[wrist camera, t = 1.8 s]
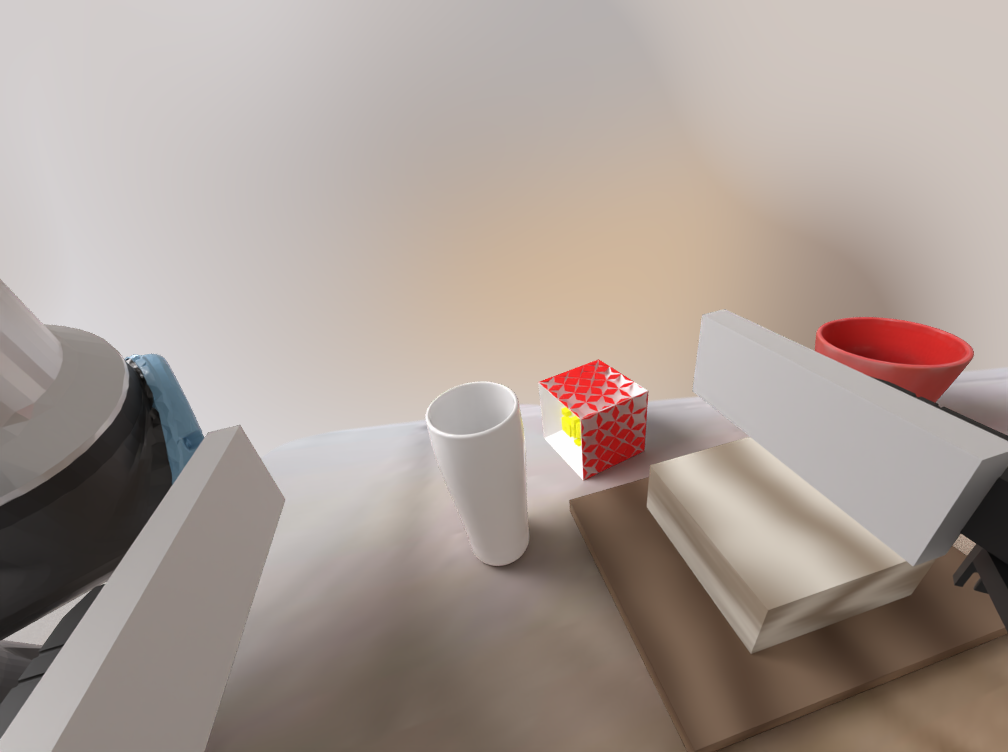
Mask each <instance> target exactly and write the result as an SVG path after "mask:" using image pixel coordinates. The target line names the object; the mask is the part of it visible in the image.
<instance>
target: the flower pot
mask: <svg viewBox="0 0 1008 752" xmlns="http://www.w3.org/2000/svg"><path fill="white" fill-rule="evenodd" d="M815 351H816V352H818V353H820V354H822V355H824V356H827V357H829V358H831V359H833V360H835V361H837V362H839V363H842V364H844V365H846V366H848V367H850V368H852V369H854V370H857V371H859V372H861V373H863V374H865V375H867V376H871V377H874V378H878V379H881V380H885V381H889V382H891V383H893V384H895V385H898V386H900V387H902V388H904V389H906V390H909V391H911V392H913V393H915V394H916V396H917V397H921V396H922V397H924V398H926V399H928V400H930V401H933V402H936V401H937V400H938V399H939V398H940V397H941V395H942V394H943V393H944V392H945V391H946V390H947V389H948V388H949V386H950V385H951V384H952V383H953V382H954V381H955V379H956V378H957V377H958V376H959V375H960V373H961V372H962V371H963V370H964V369H965V367H966V366H967V365H968V364H969V362H970V361H971V360H972V358H973V355H974V351H973V349H972V347H971V346H970V345H969V344H968V343H966V342H965V341H964V340H962V339H960V338H959V337H957V336H955V335H953V334H951V333H948V332H946V331H943V330H940V329H937V328H934V327H930V326H927V325H923V324H919V323H914V322H909V321H904V320H897V319H888V318H877V317H855V318H845V319H839V320H834V321H831V322H828V323H825V324H824V325H822V326H821V327H820V328H819V329H818V330H817V333H816V342H815Z"/></svg>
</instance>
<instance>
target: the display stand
mask: <svg viewBox="0 0 1008 752" xmlns="http://www.w3.org/2000/svg"><path fill="white" fill-rule="evenodd" d="M569 501H570V512H571V514H572V516H573V518H574V520H575V522H576V524H577V526H578V528H579V530H580V532H581V534H582V536H583V538H584V541H585V543H586V545H587V547H588V549H589V551H590V553H591V555H592V557H593V559H594V561H595V563H596V565H597V567H598V569H599V571H600V573H601V575H602V577H603V580H604V582H605V584H606V586H607V588H608V590H609V592H610V594H611V596H612V598H613V600H614V602H615V604H616V606H617V608H618V610H619V612H620V614H621V616H622V618H623V621H624V623H625V625H626V627H627V629H628V631H629V633H630V635H631V637H632V639H633V641H634V643H635V645H636V647H637V649H638V651H639V653H640V655H641V657H642V660H643V662H644V664H645V666H646V668H647V670H648V672H649V674H650V676H651V678H652V680H653V682H654V684H655V686H656V688H657V690H658V692H659V694H660V696H661V699H662V701H663V703H664V705H665V707H666V709H667V711H668V713H669V715H670V717H671V719H672V721H673V723H674V725H675V727H676V729H677V731H678V733H679V735H680V737H681V740H682V742H683V744H684V746H685V748H686V750H687V752H714V751H717V750H719V749H722V748H724V747H727V746H729V745H732V744H734V743H737V742H739V741H742V740H744V739H747V738H749V737H752V736H754V735H757V734H759V733H762V732H764V731H767V730H769V729H772V728H774V727H777V726H779V725H782V724H784V723H787V722H789V721H791V720H794V719H796V718H799V717H801V716H804V715H806V714H809V713H811V712H814V711H816V710H819V709H821V708H824V707H826V706H829V705H831V704H834V703H836V702H839V701H841V700H844V699H846V698H849V697H851V696H854V695H856V694H859V693H861V692H864V691H866V690H869V689H871V688H874V687H876V686H879V685H881V684H884V683H886V682H889V681H891V680H894V679H896V678H899V677H901V676H904V675H906V674H909V673H911V672H913V671H916V670H918V669H921V668H923V667H926V666H928V665H931V664H933V663H936V662H938V661H941V660H943V659H946V658H948V657H951V656H953V655H956V654H958V653H961V652H963V651H966V650H968V649H971V648H973V647H976V646H978V645H981V644H983V643H986V642H988V641H991V640H993V639H996V638H998V637H1001V636H1003V635H1006V634H1008V632H1007V630H1006V628H1005V626H1004V624H1003V622H1002V620H1001V618H1000V616H999V614H998V612H997V610H996V608H995V606H994V604H993V602H992V600H991V598H990V596H989V594H986V593H982V592H978V591H975V590H974V589H973V588H974V586H975V584H976V582H977V581H978V580H979V578H980V576H979V574H978V573H973V574H972V575H971V577H970V578H969V579H968V580H967V582H966V583H965V584H964V586H963V587H959V586H955V585H954V581H953V574H954V573H955V572H956V570H957V569H958V568H959V566H960V565H961V564H962V562H963V561H964V560H965V558H966V557H967V556H966V555H965V554H963V553H962V552H961V551H959V550H958V549H956V548H955V547H953V546H952V547H951V548H950V549H949V551H948V552H947V554H946V555H944V556H941V557H938V558H935V559H933V560H930V561H927V562H924V563H921V564H919V565H916V566H912V565H911V564H909V563H908V562H907V561H906V560H904V559H903V558H902V557H901V556H899V555H898V554H897V553H896V552H894V551H893V550H892V549H891V548H889V547H888V546H887V545H885V544H884V543H883V542H882V541H880V540H879V539H878V538H877V537H875V536H874V535H873V534H872V533H870V532H869V531H868V530H867V529H865V528H864V527H863V526H862V525H860V524H859V523H858V522H857V521H855V520H854V519H853V518H851V517H850V516H849V515H848V514H846V513H845V512H844V511H843V510H841V509H840V508H839V507H838V506H836V505H835V504H834V503H833V502H831V501H830V500H829V499H828V498H826V497H825V496H824V495H823V494H821V493H820V492H819V491H817V490H816V489H815V488H814V487H812V486H811V485H810V484H809V483H807V482H806V481H805V480H804V479H802V478H801V477H800V476H799V475H797V474H796V473H795V472H794V471H792V470H791V469H790V468H789V467H787V466H786V465H785V464H783V463H782V462H781V461H780V460H778V459H777V458H776V457H775V456H773V455H772V454H771V453H770V452H768V451H767V450H766V449H765V448H763V447H762V446H761V445H760V444H758V443H757V442H756V441H755V440H753V439H752V438H751V437H747V438H744V439H740V440H737V441H733V442H730V443H726V444H723V445H719V446H716V447H712V448H709V449H705V450H702V451H698V452H695V453H691V454H688V455H684V456H681V457H677V458H674V459H670V460H667V461H663V462H660V463H656V464H653V465H650V472H649V477H648V478H644V479H641V480H637V481H634V482H631V483H627V484H624V485H620V486H617V487H613V488H610V489H606V490H603V491H600V492H596V493H593V494H589V495H586V496H582V497H579V498H575V499H572V500H569Z"/></svg>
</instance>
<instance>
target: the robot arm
mask: <svg viewBox="0 0 1008 752" xmlns="http://www.w3.org/2000/svg"><path fill="white" fill-rule="evenodd" d="M693 392H694V393H695V394H697V395H698V396H699V397H700V398H702V399H703V400H704V401H705V402H707V403H708V404H709V405H710V406H712V407H713V408H714V409H715V410H717V411H718V412H719V413H721V414H722V415H723V416H724V417H726V418H727V419H728V420H729V421H731V422H732V423H733V424H734V425H736V426H737V427H738V428H739V429H741V430H742V431H743V432H744V433H746V434H747V435H748V436H749V437H751V438H752V439H753V440H755V441H756V442H757V443H758V444H760V445H761V446H762V447H763V448H765V449H766V450H767V451H768V452H770V453H771V454H772V455H773V456H775V457H776V458H777V459H778V460H780V461H781V462H782V463H783V464H785V465H786V466H787V467H789V468H790V469H791V470H792V471H794V472H795V473H796V474H797V475H799V476H800V477H801V478H802V479H804V480H805V481H806V482H807V483H809V484H810V485H811V486H812V487H814V488H815V489H816V490H817V491H819V492H820V493H821V494H823V495H824V496H825V497H826V498H828V499H829V500H830V501H831V502H833V503H834V504H835V505H836V506H838V507H839V508H840V509H841V510H843V511H844V512H845V513H846V514H848V515H849V516H850V517H851V518H853V519H854V520H855V521H857V522H858V523H859V524H860V525H862V526H863V527H864V528H865V529H867V530H868V531H869V532H870V533H872V534H873V535H874V536H875V537H877V538H878V539H879V540H880V541H882V542H883V543H884V544H885V545H887V546H888V547H889V548H891V549H892V550H893V551H894V552H896V553H897V554H898V555H899V556H901V557H902V558H903V559H904V560H906V561H907V562H908V563H909V564H911V565H912V566H916V565H919V564H921V563H924V562H927V561H930V560H933V559H935V558H938V557H941V556H944V555H946V554H947V552H948V551H949V549H950V548H951V547H952V545H953V544H954V542H955V541H956V539H957V538H958V537H959V535H960V534H963V535H964V536H966V537H967V538H969V539H970V540H972V541H973V542H975V543H976V545H975V546H974V548H973V549H972V550H971V552H970V553H969V554H968V556H967V557H966V558H965V560H964V561H963V562H962V564H961V565H960V566H959V568H958V569H957V570H956V572H955V573H954V574H953V581H954V585H955V586H959V587H963V586H964V584H965V583H966V582H967V580H968V579H969V578H970V577H971V575H972V574H973V573H978V574H979V576H980V578H979V580H978V581H977V582H976V584H975V586H974V588H973V589H974V590H975V591H978V592H982V593H986V594H989V596H990V598H991V600H992V602H993V604H994V606H995V608H996V610H997V612H998V614H999V616H1000V618H1001V620H1002V622H1003V624H1004V626H1005V628H1006V630H1007V632H1008V436H1007V435H1005V434H1002V433H1000V432H998V431H996V430H994V429H991V428H989V427H987V426H985V425H983V424H981V423H978V422H976V421H974V420H972V419H970V418H967V417H965V416H963V415H961V414H959V413H957V412H954V411H952V410H950V409H948V408H946V407H942V408H940V407H939V406H938V404H937V403H935V402H933V401H930V400H928V399H926V398H924V397H922V396H921V397H917V396H916V394H915V393H913V392H911V391H909V390H906V389H904V388H902V387H900V386H898V385H895V384H893V383H891V382H889V381H885V380H881V379H878V378H874V377H871V376H867V375H865V374H863V373H861V372H859V371H857V370H854V369H852V368H850V367H848V366H846V365H844V364H842V363H839V362H837V361H835V360H833V359H831V358H829V357H827V356H824V355H822V354H820V353H818V352H816V351H814V350H812V349H809V348H807V347H805V346H803V345H801V344H799V343H797V342H794V341H792V340H790V339H788V338H786V337H784V336H781V335H779V334H777V333H775V332H773V331H771V330H769V329H766V328H764V327H762V326H760V325H758V324H756V323H754V322H751V321H749V320H747V319H745V318H743V317H741V316H738V315H736V314H734V313H732V312H730V311H728V310H726V309H724V310H720V311H716V312H711V313H707V314H703V315H702V321H701V329H700V337H699V344H698V352H697V360H696V368H695V375H694V383H693ZM284 502H285V498H284V496H283V495H282V493H281V491H280V490H279V488H278V487H277V485H276V483H275V482H274V480H273V478H272V477H271V475H270V473H269V472H268V470H267V468H266V467H265V465H264V463H263V462H262V460H261V458H260V457H259V455H258V454H257V452H256V450H255V449H254V447H253V445H252V444H251V442H250V440H249V439H248V437H247V435H246V434H245V432H244V431H243V429H242V427H241V425H237V426H233V427H229V428H225V429H221V430H217V431H212V432H208V433H207V435H206V436H205V437H204V436H203V434H202V430H201V428H200V426H199V424H198V422H197V420H196V417H195V415H194V413H193V411H192V409H191V407H190V405H189V403H188V401H187V399H186V397H185V395H184V393H183V391H182V389H181V387H180V385H179V383H178V381H177V379H176V377H175V375H174V373H173V371H172V370H171V368H170V366H169V364H168V363H167V361H166V360H165V359H164V358H163V357H162V356H160V355H157V354H147V355H141V356H140V355H132V356H130V357H126V358H125V359H124V358H123V357H122V356H121V354H120V353H119V352H118V351H117V350H116V349H115V348H114V347H113V346H111V345H110V344H109V343H108V342H107V341H105V340H104V339H103V338H101V337H99V336H96V335H95V334H92V333H90V332H86V331H83V330H80V329H75V328H70V327H65V326H56V325H45V324H43V323H42V322H40V320H39V319H38V318H37V317H36V316H35V315H34V314H33V313H32V312H31V311H30V310H29V309H28V308H27V307H26V306H25V305H24V303H23V302H22V301H21V300H20V299H19V298H18V297H17V296H16V295H15V294H14V293H13V292H12V291H11V290H10V289H9V288H8V287H7V286H6V285H5V284H4V283H3V282H2V280H1V279H0V752H205V749H206V746H207V742H208V739H209V736H210V733H211V730H212V727H213V724H214V721H215V718H216V714H217V711H218V708H219V705H220V702H221V699H222V696H223V693H224V689H225V686H226V683H227V680H228V677H229V674H230V671H231V668H232V665H233V661H234V658H235V655H236V652H237V649H238V646H239V643H240V640H241V636H242V633H243V630H244V627H245V624H246V621H247V618H248V615H249V611H250V608H251V605H252V602H253V599H254V596H255V593H256V590H257V587H258V583H259V580H260V577H261V574H262V571H263V568H264V565H265V562H266V558H267V555H268V552H269V549H270V546H271V543H272V540H273V537H274V534H275V530H276V527H277V524H278V521H279V518H280V515H281V512H282V509H283V505H284ZM105 582H106V584H103V583H105ZM101 584H103V585H101ZM90 590H91V591H90ZM88 591H90V592H89V593H88V594H87V595H86V596H85V597H84V598H83V599H82V600H81V601H80V602H79V603H78V604H77V605H76V606H75V607H73V608H72V609H71V610H70V611H69V612H68V613H67V614H66V615H65V616H64V617H63V618H62V620H61V621H60V622H59V624H58V625H57V627H56V628H55V629H54V631H53V632H52V634H51V635H50V636H49V638H48V639H47V640H46V642H45V643H44V645H43V646H42V645H35V644H27V643H20V642H13V641H5V640H3V639H5V638H6V637H8V636H10V635H12V634H13V633H15V632H17V631H19V630H21V629H22V628H24V627H26V626H28V625H29V624H31V623H33V622H35V621H37V620H38V619H40V618H42V617H44V616H45V615H47V614H49V613H51V612H53V611H54V610H56V609H58V608H60V607H61V606H63V605H65V604H67V603H69V602H70V601H72V600H74V599H76V598H77V597H79V596H81V595H83V594H85V593H87V592H88Z"/></svg>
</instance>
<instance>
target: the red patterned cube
mask: <svg viewBox="0 0 1008 752" xmlns="http://www.w3.org/2000/svg"><path fill="white" fill-rule="evenodd" d="M538 385H539V395H540V404H541V414H542V424H543V433H544V438H545V439H546V441H547V442H548V443H549V444H550V445H551V446H552V447H553V448H554V449H555V450H556V451H557V452H558V453H559V455H560V456H561V457H562V458H563V459H564V460H565V461H566V462H567V463H568V464H569V465H570V466H571V468H572V469H573V470H574V471H575V472H576V473H577V474H578V475H579V476H580V477H581V478H582V479H583V480H586V479H588V478H590V477H592V476H594V475H596V474H598V473H600V472H602V471H604V470H606V469H608V468H610V467H612V466H614V465H616V464H618V463H620V462H622V461H624V460H626V459H628V458H631V457H633V456H635V455H637V454H639V453H641V452H643V451H644V449H645V433H646V418H647V404H648V390H646V389H645V388H643V387H642V386H640V385H638V384H637V383H635V382H634V381H632V380H630V379H629V378H627V377H626V376H624V375H622V374H621V373H619V372H618V371H616V370H615V369H613V368H611V367H610V366H608V365H607V364H605V363H603V362H602V361H600V360H599V359H598V360H596V361H593V362H590V363H588V364H585V365H582V366H580V367H577V368H575V369H572V370H569V371H567V372H564V373H561V374H559V375H556V376H553V377H551V378H548V379H545V380H543V381H540V382H538Z"/></svg>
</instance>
